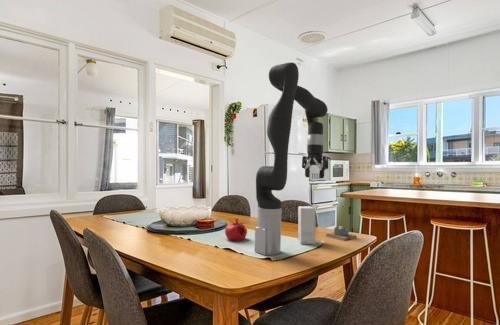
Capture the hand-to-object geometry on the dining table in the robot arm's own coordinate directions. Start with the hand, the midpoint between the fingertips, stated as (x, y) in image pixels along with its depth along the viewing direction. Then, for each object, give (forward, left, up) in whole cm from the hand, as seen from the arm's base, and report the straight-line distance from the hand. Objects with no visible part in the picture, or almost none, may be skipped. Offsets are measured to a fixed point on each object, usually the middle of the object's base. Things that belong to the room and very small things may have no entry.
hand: (314, 177), depth 148 cm
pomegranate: (-35, +15, -28) cm, 48 cm away
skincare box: (-12, -6, -28) cm, 31 cm away
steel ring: (+10, -9, -27) cm, 30 cm away
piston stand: (+10, -9, -28) cm, 31 cm away
